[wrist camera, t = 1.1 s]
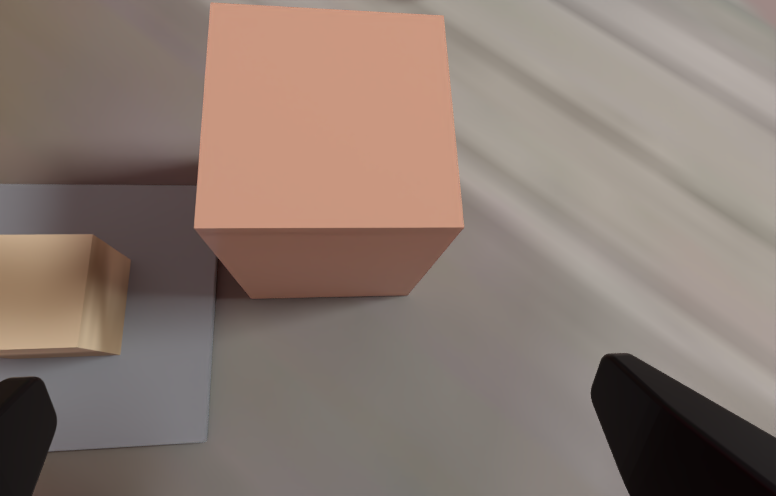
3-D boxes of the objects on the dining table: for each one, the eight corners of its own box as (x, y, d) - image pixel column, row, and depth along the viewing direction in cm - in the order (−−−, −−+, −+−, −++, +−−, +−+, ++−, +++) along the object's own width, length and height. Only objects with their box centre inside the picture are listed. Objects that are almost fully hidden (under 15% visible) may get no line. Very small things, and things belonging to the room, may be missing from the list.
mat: (207, 440, 19) (204, 442, 19) (-101, 459, 18) (-110, 460, 17) (221, 189, 22) (219, 185, 22) (-39, 187, 21) (-46, 183, 20)
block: (120, 354, 19) (77, 347, 16) (12, 358, 19) (-56, 351, 15) (131, 259, 20) (92, 234, 17) (29, 261, 20) (-31, 234, 17)
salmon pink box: (407, 295, 22) (464, 227, 13) (251, 298, 21) (193, 228, 12) (399, 158, 24) (443, 15, 15) (256, 155, 23) (210, 2, 14)
